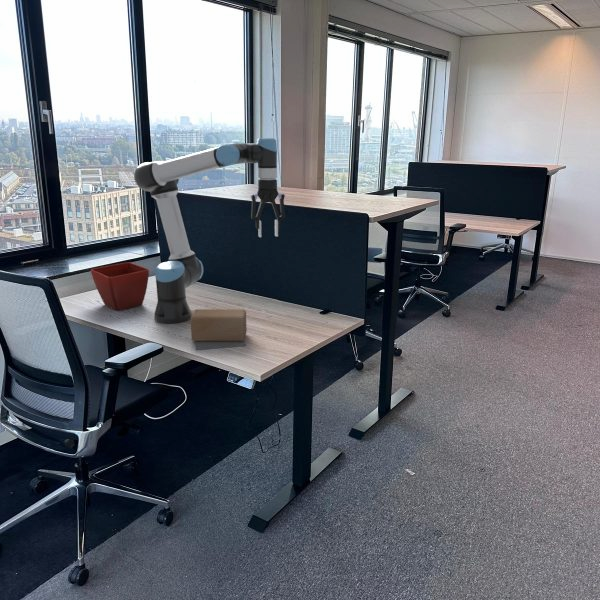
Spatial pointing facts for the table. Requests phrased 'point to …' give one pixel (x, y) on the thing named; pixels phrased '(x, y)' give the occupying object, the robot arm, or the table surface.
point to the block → (218, 325)
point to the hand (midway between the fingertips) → (268, 236)
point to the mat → (217, 344)
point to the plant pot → (121, 284)
